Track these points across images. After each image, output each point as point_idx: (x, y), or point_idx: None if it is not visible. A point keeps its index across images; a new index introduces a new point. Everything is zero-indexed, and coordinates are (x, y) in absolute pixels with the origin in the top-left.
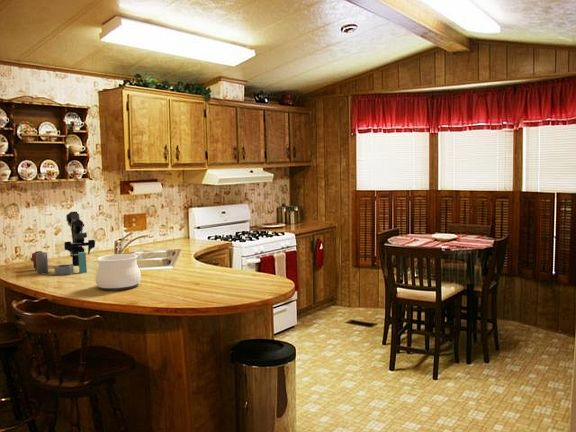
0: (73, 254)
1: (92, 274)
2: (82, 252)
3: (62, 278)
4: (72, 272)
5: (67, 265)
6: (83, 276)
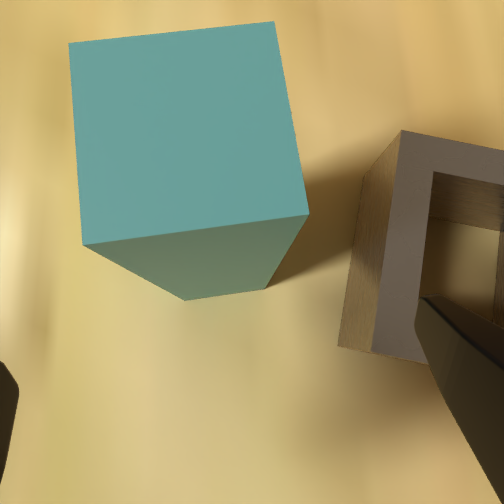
0: (445, 298)
1: None
2: (166, 130)
3: (413, 4)
4: (347, 286)
5: None
6: (210, 14)
